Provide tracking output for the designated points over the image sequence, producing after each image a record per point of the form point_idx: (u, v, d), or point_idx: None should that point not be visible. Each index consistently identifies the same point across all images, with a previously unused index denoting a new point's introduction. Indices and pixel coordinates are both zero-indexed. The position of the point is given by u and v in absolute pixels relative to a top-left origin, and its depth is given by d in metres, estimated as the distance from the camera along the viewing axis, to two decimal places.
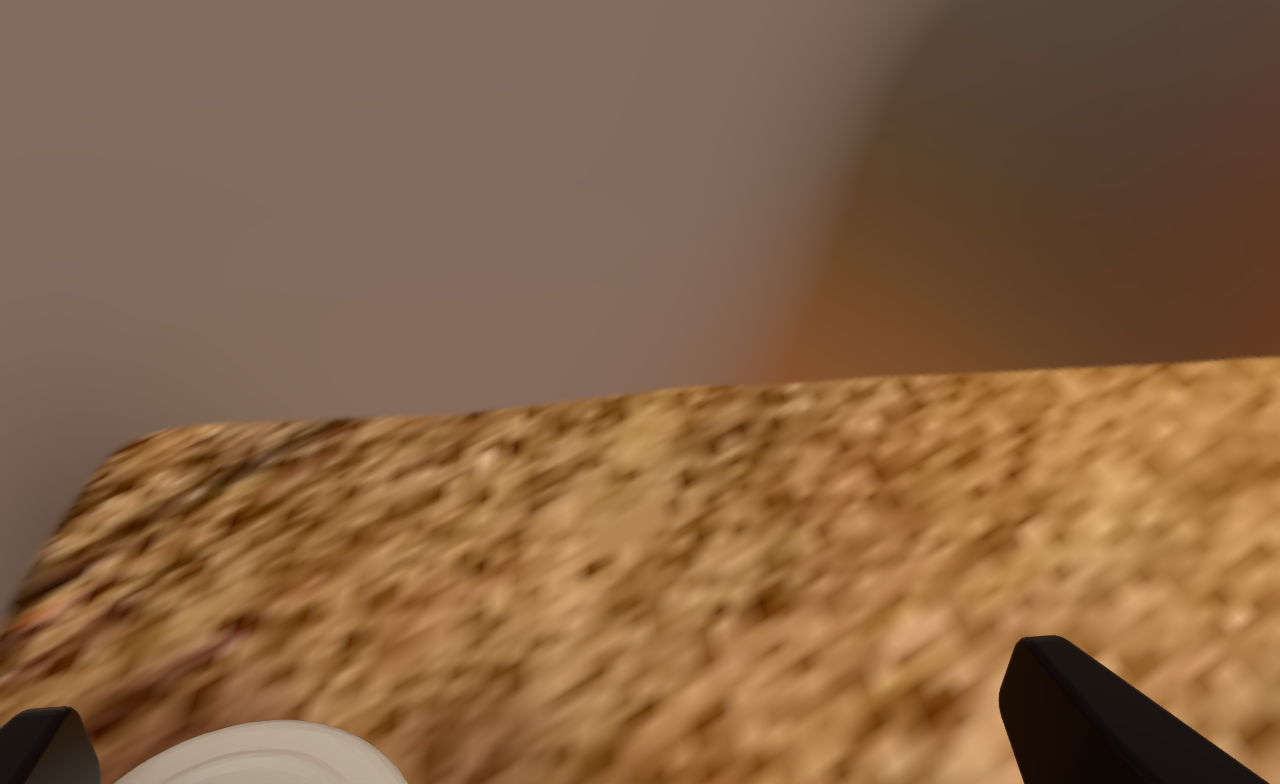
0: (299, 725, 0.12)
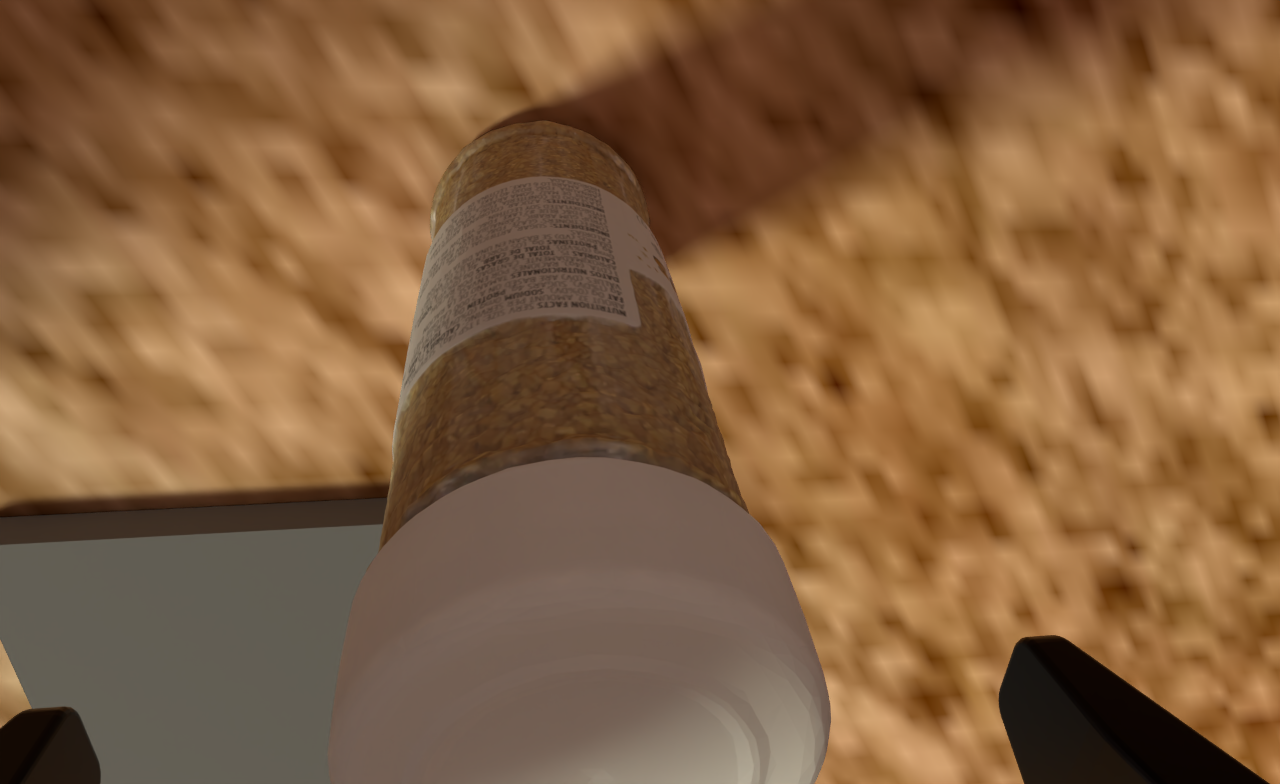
0: None
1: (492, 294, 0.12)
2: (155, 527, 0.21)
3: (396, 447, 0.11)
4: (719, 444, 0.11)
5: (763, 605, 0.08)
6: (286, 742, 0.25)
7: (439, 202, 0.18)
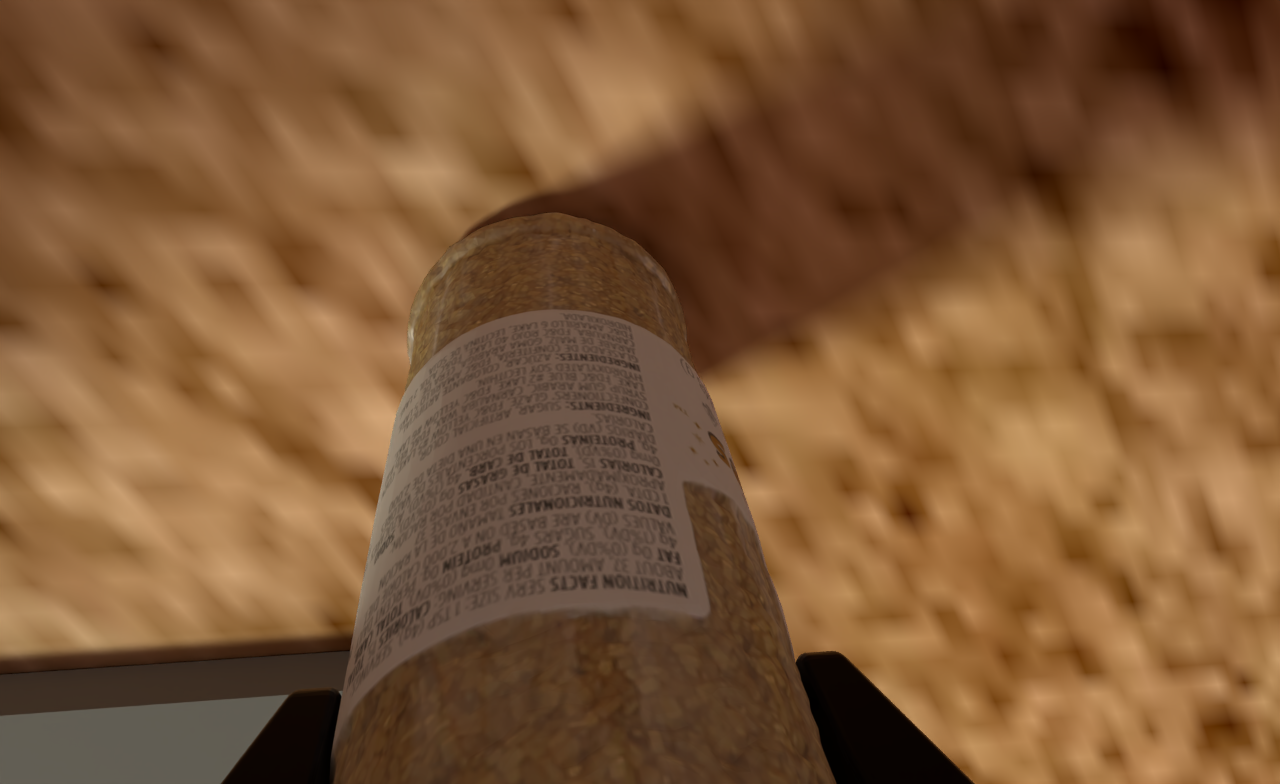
0: None
1: (480, 549, 0.08)
2: (71, 696, 0.17)
3: None
4: None
5: None
6: None
7: (418, 317, 0.14)
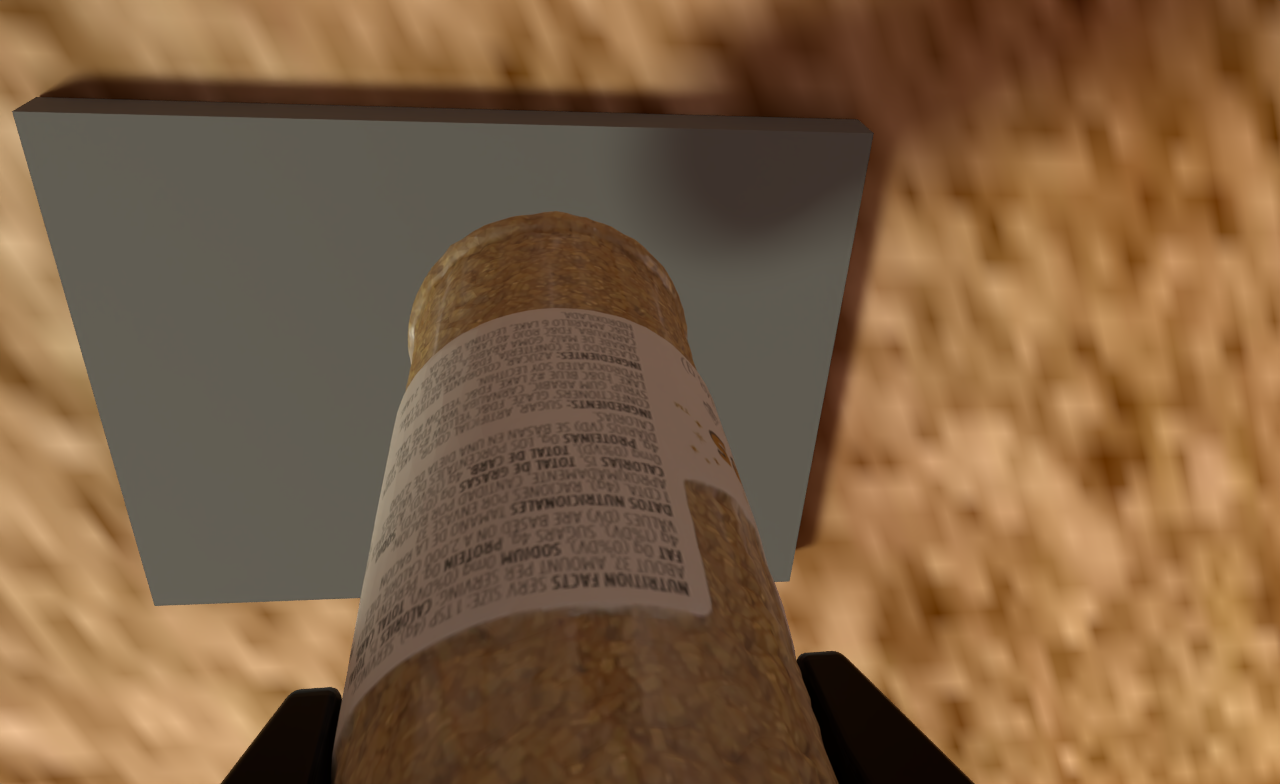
0: None
1: (482, 546, 0.08)
2: (253, 112, 0.17)
3: None
4: None
5: None
6: (383, 444, 0.21)
7: (419, 316, 0.14)
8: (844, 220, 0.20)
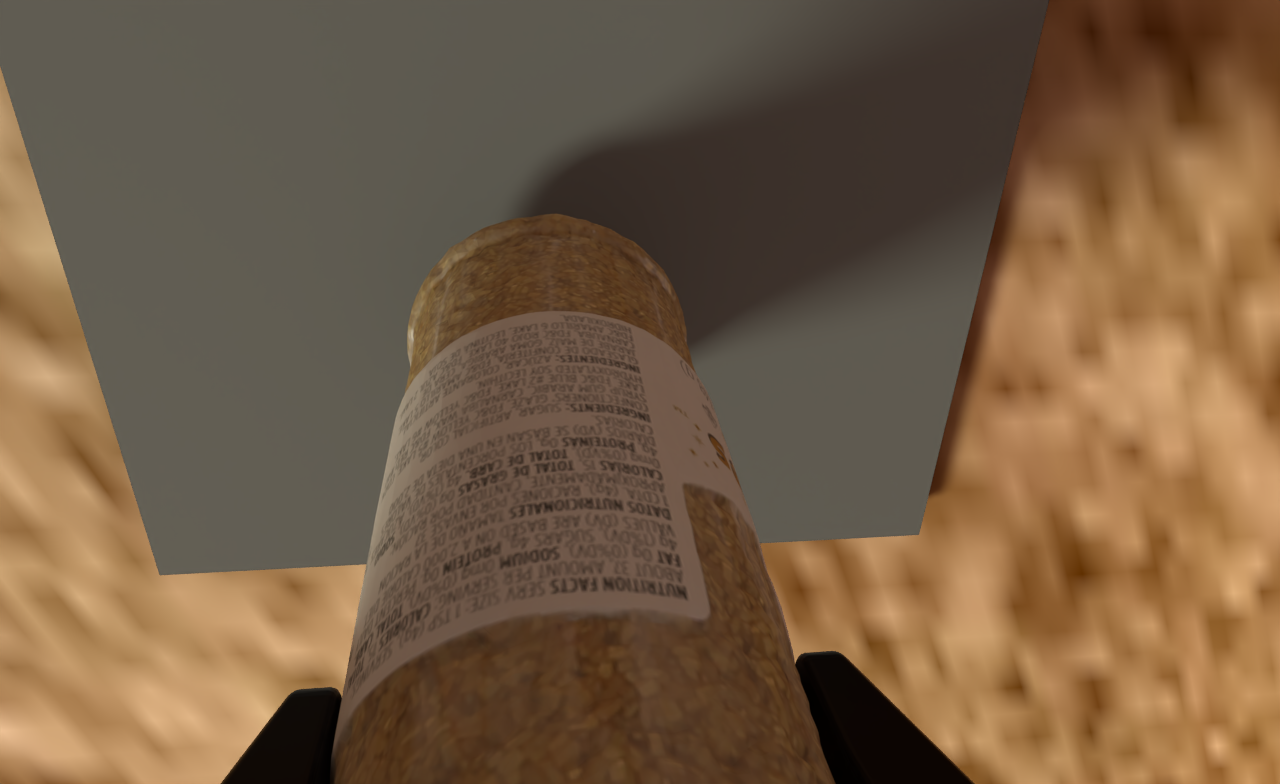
0: None
1: (481, 550, 0.08)
2: None
3: None
4: None
5: None
6: None
7: (418, 318, 0.14)
8: (1018, 59, 0.15)
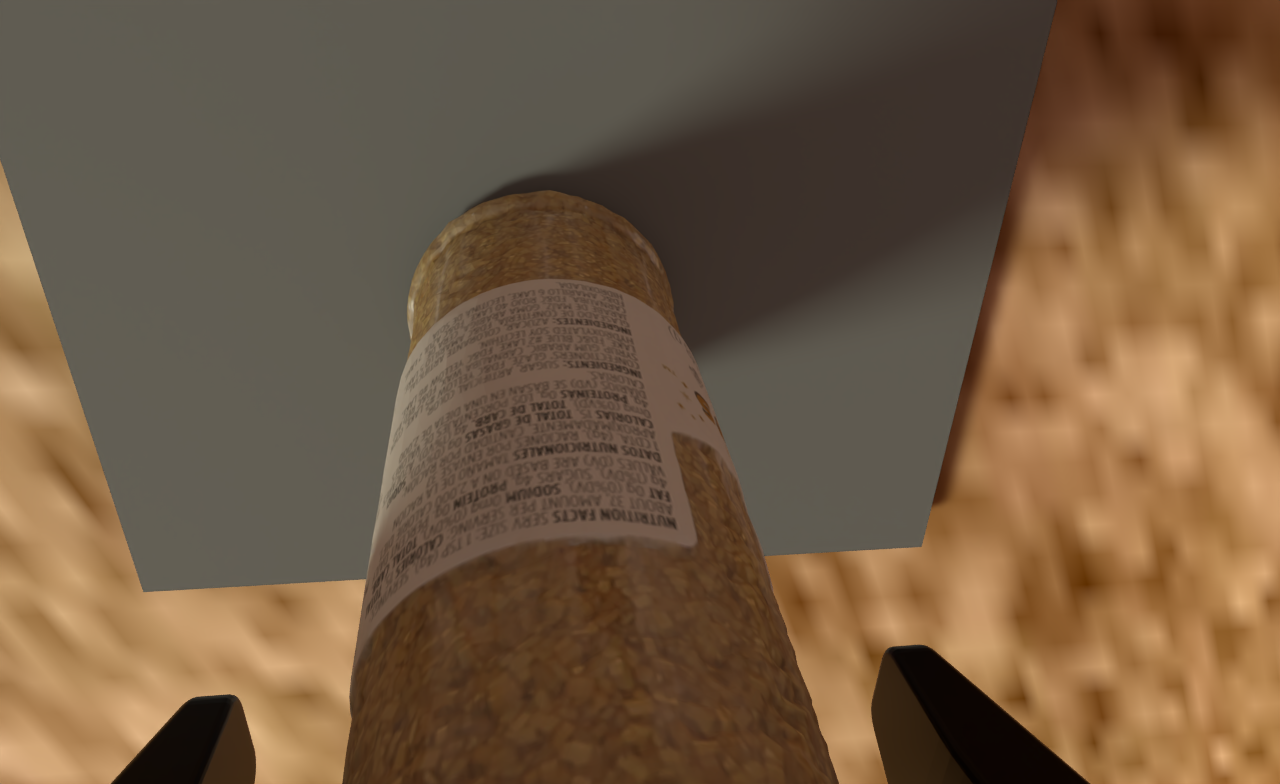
0: None
1: (487, 488, 0.09)
2: None
3: (353, 718, 0.08)
4: (816, 734, 0.08)
5: None
6: None
7: (418, 289, 0.15)
8: (1025, 62, 0.15)
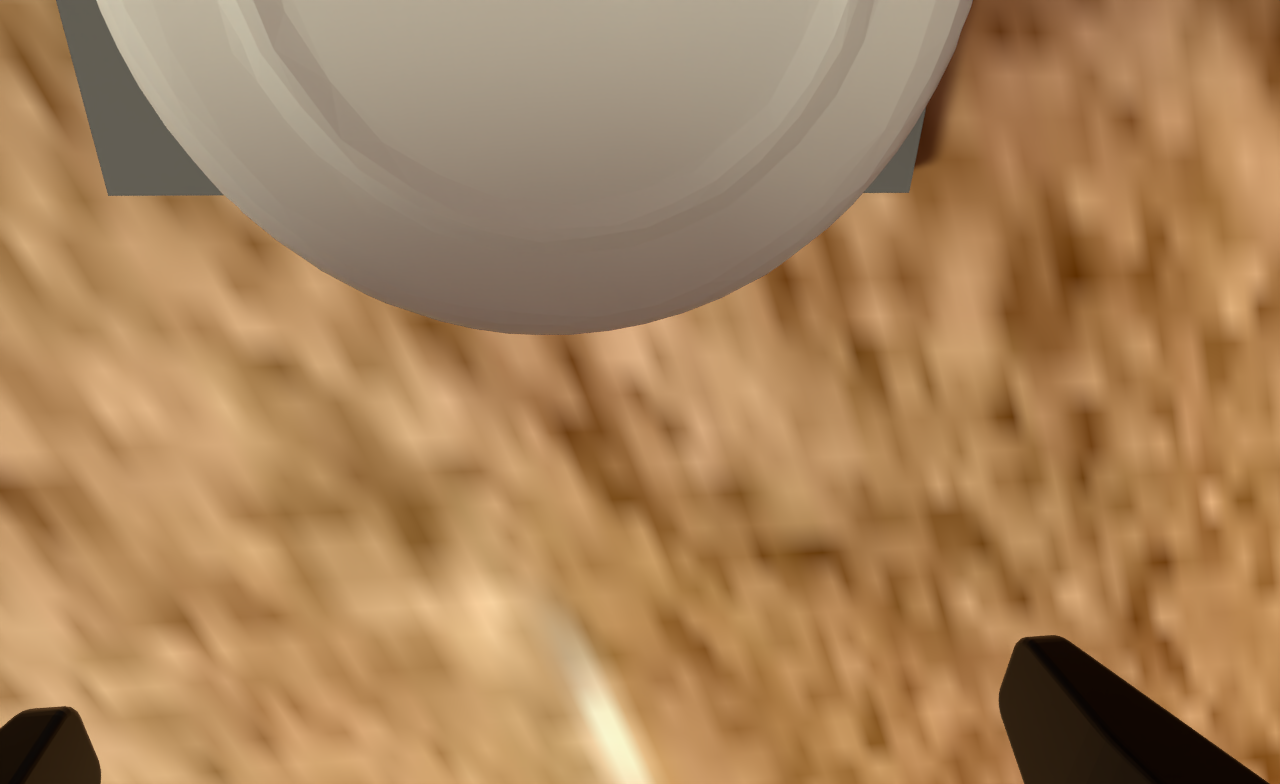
0: (933, 52, 0.05)
1: None
2: None
3: None
4: None
5: None
6: None
7: None
8: None
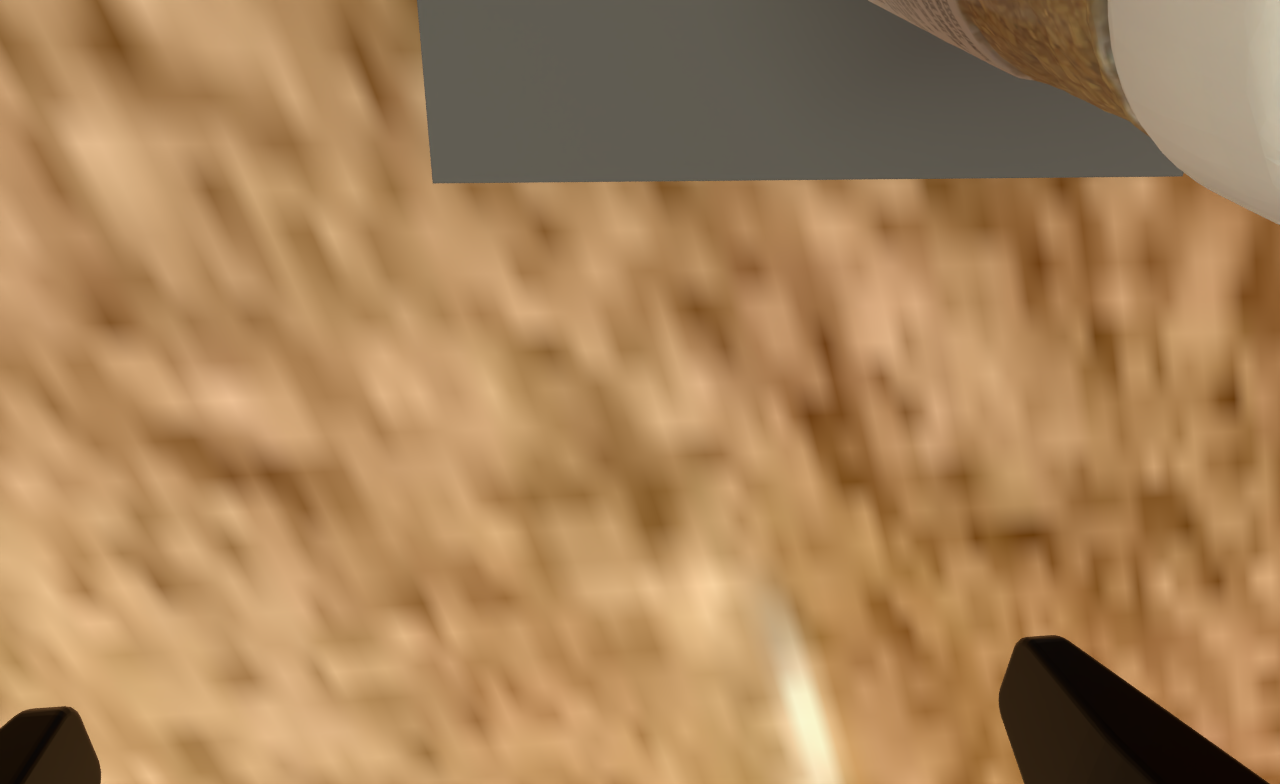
0: None
1: None
2: None
3: None
4: None
5: None
6: None
7: None
8: None
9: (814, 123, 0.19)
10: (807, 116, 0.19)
